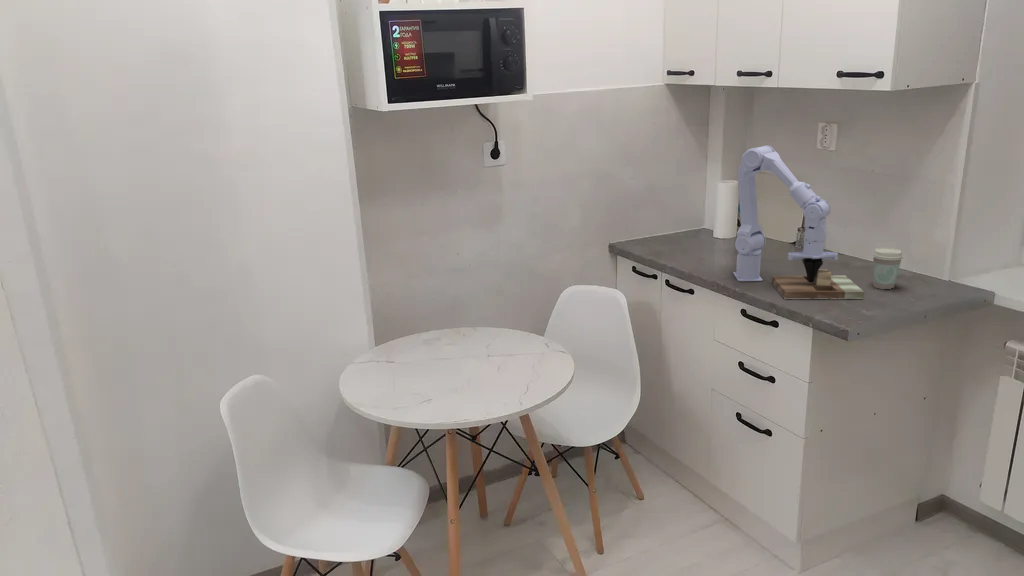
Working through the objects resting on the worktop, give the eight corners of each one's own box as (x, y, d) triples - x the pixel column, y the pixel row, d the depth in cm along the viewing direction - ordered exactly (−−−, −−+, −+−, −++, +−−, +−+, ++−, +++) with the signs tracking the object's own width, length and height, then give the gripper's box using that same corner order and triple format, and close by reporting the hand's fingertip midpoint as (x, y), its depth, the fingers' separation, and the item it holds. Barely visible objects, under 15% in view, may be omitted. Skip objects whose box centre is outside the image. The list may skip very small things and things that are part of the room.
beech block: (813, 281, 226) (814, 269, 225) (826, 281, 226) (827, 269, 225) (816, 285, 223) (818, 273, 221) (830, 285, 222) (831, 273, 221)
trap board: (771, 283, 234) (772, 275, 234) (844, 282, 232) (845, 275, 231) (784, 299, 218) (785, 292, 218) (863, 299, 216) (864, 291, 215)
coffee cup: (864, 287, 227) (868, 251, 223) (874, 281, 232) (878, 245, 228) (893, 292, 221) (898, 255, 217) (902, 286, 226) (907, 250, 223)
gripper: (793, 243, 217) (789, 285, 221) (842, 242, 216) (838, 285, 220) (787, 237, 224) (784, 278, 228) (835, 236, 222) (831, 278, 226)
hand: (810, 281), depth 224 cm, fingers closed
